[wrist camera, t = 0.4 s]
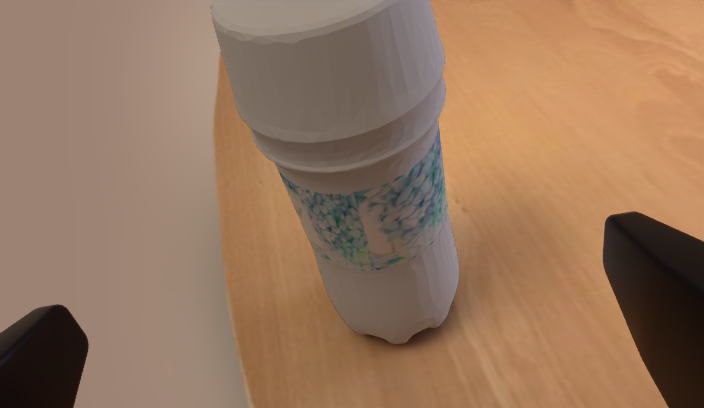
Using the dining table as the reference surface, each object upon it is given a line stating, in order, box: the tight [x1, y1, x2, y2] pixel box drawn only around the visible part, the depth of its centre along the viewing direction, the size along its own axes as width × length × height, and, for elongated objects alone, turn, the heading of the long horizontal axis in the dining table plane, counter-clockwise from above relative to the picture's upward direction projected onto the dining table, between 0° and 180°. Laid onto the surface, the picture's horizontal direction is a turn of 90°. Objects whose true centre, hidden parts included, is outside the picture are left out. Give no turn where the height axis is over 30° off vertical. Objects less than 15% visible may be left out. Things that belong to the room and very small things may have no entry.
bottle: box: [211, 0, 459, 344], centre depth 19 cm, size 7×7×20 cm
